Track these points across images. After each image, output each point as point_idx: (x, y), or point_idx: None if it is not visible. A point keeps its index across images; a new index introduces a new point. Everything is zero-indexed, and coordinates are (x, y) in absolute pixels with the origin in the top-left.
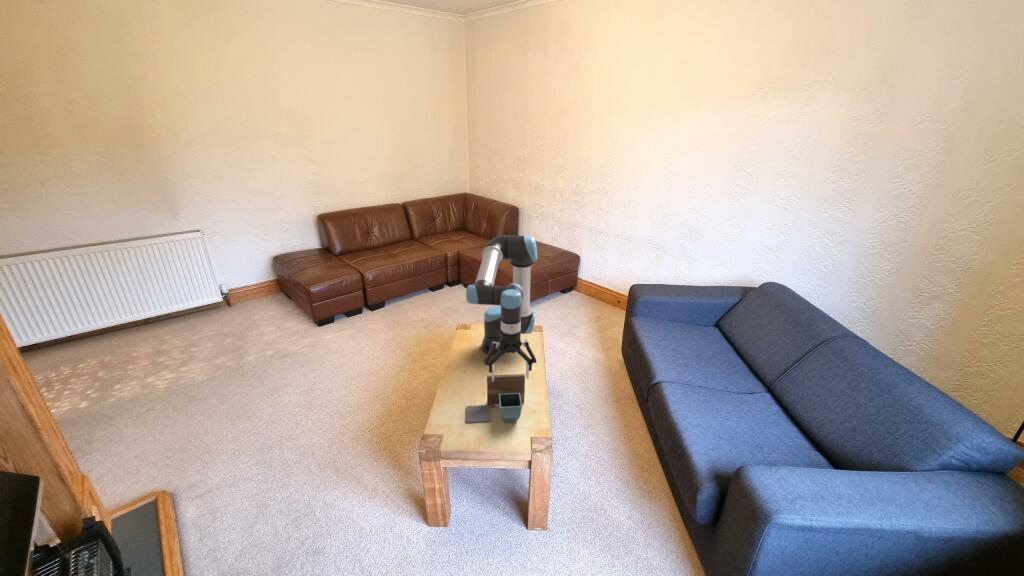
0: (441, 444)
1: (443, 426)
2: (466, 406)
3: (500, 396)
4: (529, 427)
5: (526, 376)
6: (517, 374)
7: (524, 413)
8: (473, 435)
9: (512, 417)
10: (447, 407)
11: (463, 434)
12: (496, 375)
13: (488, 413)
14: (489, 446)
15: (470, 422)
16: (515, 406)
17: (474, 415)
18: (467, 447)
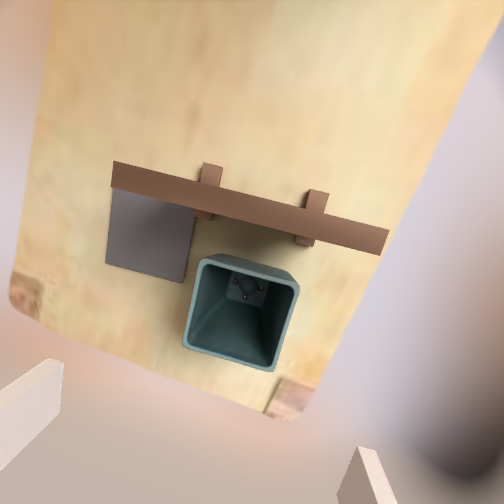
0: (38, 317)
1: (42, 251)
2: None
3: (208, 264)
4: (291, 343)
5: (348, 501)
6: (334, 219)
7: (303, 280)
8: (123, 316)
9: (243, 325)
10: (53, 161)
11: (97, 303)
12: (180, 180)
13: (181, 247)
14: (159, 367)
15: (120, 265)
16: (245, 364)
17: (134, 240)
18: (103, 350)
